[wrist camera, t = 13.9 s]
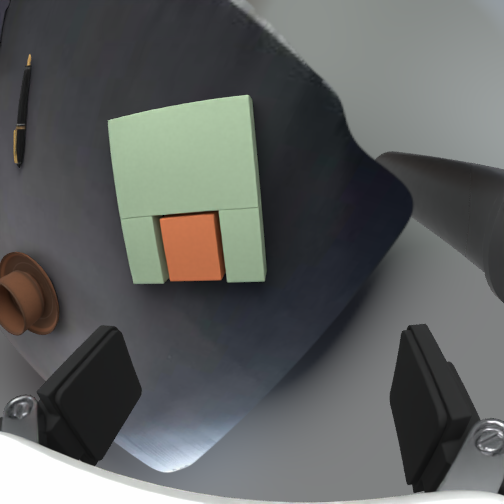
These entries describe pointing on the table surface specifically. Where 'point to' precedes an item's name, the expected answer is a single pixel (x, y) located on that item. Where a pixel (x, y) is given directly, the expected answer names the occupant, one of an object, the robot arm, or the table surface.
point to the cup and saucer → (26, 296)
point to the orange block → (193, 246)
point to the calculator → (3, 12)
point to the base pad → (189, 182)
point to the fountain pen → (22, 116)
